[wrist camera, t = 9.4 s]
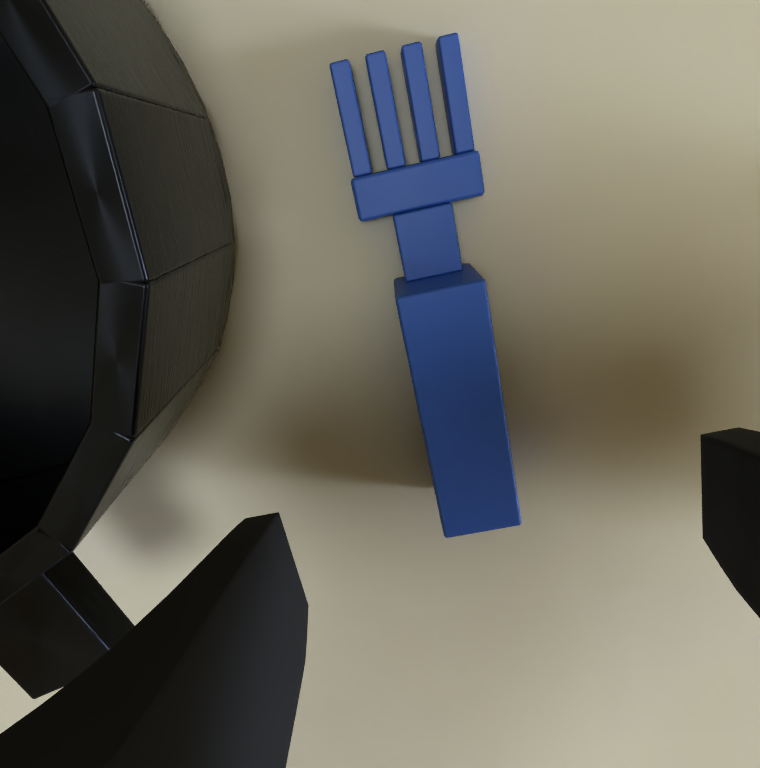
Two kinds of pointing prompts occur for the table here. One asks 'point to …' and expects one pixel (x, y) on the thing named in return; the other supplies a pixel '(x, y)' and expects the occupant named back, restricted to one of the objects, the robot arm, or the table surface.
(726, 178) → the table surface
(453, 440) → the fork
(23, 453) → the pot
